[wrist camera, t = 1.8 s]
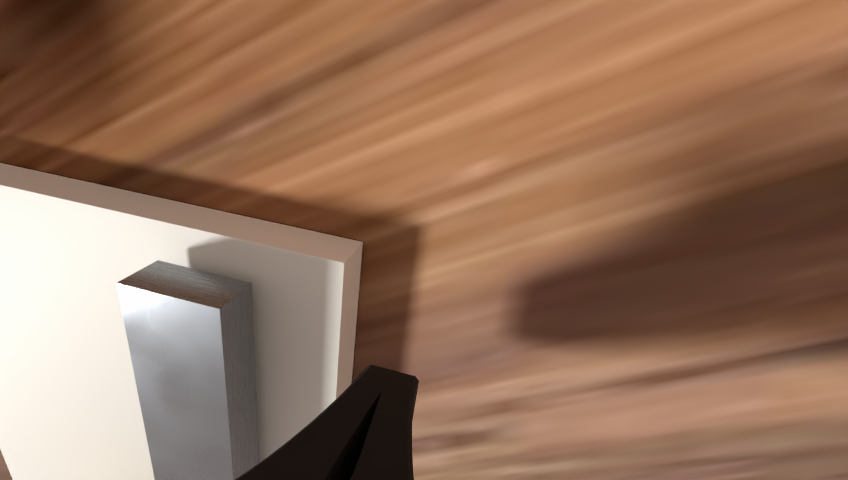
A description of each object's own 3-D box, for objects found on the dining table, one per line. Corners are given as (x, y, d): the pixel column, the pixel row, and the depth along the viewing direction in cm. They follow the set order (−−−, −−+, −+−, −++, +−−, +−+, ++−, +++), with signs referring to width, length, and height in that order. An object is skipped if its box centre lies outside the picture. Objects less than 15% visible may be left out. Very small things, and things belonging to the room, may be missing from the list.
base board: (336, 578, 20) (320, 620, 19) (55, 483, 23) (20, 513, 21) (362, 241, 13) (341, 265, 11) (-60, 149, 15) (-125, 159, 14)
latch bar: (262, 548, 17) (233, 602, 15) (196, 525, 17) (160, 576, 16) (251, 283, 12) (206, 320, 10) (157, 260, 12) (99, 292, 11)
